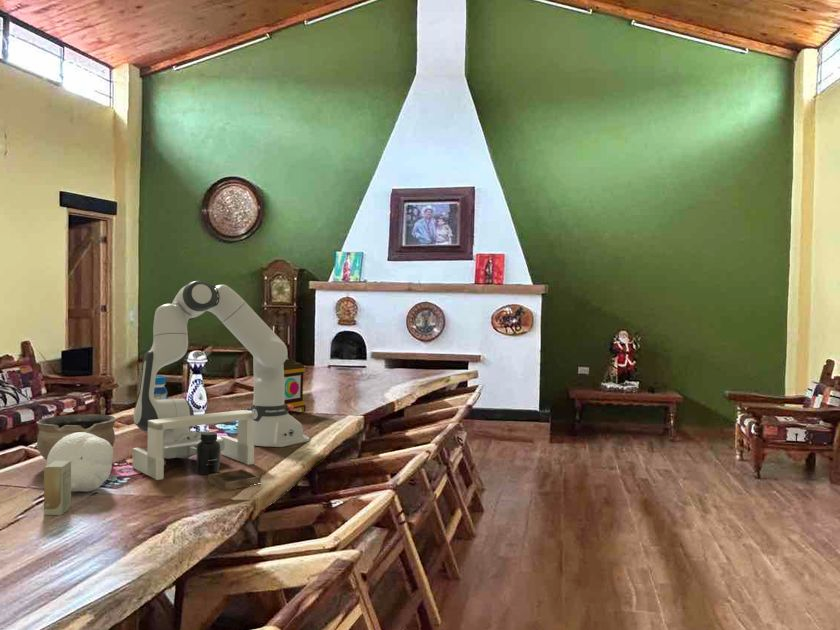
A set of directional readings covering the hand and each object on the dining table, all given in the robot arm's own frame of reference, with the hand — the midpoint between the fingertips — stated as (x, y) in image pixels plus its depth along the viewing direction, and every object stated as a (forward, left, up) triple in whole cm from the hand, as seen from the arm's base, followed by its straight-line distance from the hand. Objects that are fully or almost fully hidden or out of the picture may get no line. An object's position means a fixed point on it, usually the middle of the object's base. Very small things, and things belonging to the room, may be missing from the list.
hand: (203, 452), depth 223 cm
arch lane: (0, -6, -6) cm, 9 cm away
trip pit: (0, +19, -6) cm, 20 cm away
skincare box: (+47, +16, -6) cm, 50 cm away
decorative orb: (+36, +1, -6) cm, 36 cm away
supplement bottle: (0, +3, -6) cm, 7 cm away
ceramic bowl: (+29, -26, -6) cm, 40 cm away
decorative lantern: (-72, -71, -6) cm, 102 cm away
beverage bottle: (-16, -72, -6) cm, 74 cm away
